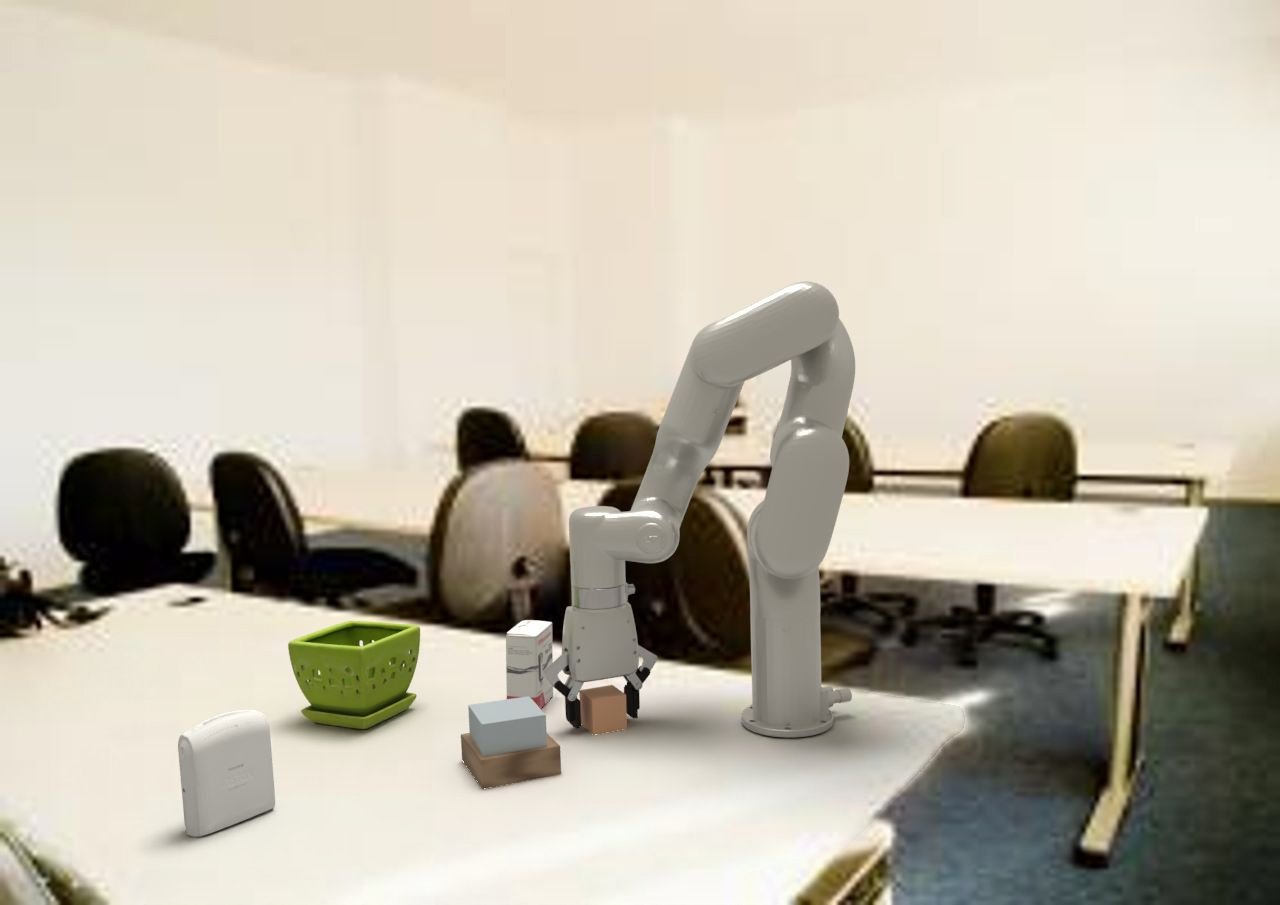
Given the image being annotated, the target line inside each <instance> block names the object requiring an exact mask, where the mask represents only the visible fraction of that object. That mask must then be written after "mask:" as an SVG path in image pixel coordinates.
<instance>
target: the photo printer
mask: <svg viewBox="0 0 1280 905" xmlns="http://www.w3.org/2000/svg"><path fill="white" fill-rule="evenodd" d="M177 751H178V753H177V754H178V763H179V773H180V775H179V776H180V786H181V796H182V807H183V808H182V810H183V820H184V827H185V832H186V834H187V835H188V836H190V837H192V838H193V837H194V838H201V837H202V836H207V835H210V834H212V833H215V832H218V831H220V830H223V829H225V828H229V827H230V826H233V825H236V824H239V823H240V822H243V821H246V820H248V819H251V818H253V817H256V816H258V815H260V814H263V813H266V812H268V811H270V810H272V809H274V808H275V807H276V794H275V780H274V779H275V778H274V768H273V765H274V764H273V753H272V741H271V730H270V725H269V721H268V718H267V717H266V715H265V714H264V712H262V711H261V712H260V711H259V710H255V709H239V710H233V711H228V712H223V713H220V714H217V715H215V716H212V717H209V718H207V719H205V720H202V721H200V722H199V723H196V724H195V725H193V726H192V727H190V728H188V729H187V730H186V731H185V732H183V733H182V734H181V735H179V738H178V741H177Z"/></svg>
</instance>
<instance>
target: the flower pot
mask: <svg viewBox="0 0 1280 905" xmlns="http://www.w3.org/2000/svg"><path fill="white" fill-rule="evenodd" d="M360 642H362V645H361V643H360ZM420 644H421V628H420V626H419V625H416V624H405V623H395V622H383V621H382V622H379V621H367V620H366V621H362V620H347V621H343V622H341V623H338V624H335V625H332V626H329V627H325V628H323V629H320V630H317V631H314V632H311V633H308V634H306V635H302V636H299V637H297V638H295V639H292V640H290V641H289V642H288V645H287V648H288V655H289V661H290V664H291V668H292V671H293V674H294V677H295V680H296V681H297V684H298V686H299V689H300V691H301V692H302V694H303V696H304V697H305V699H306V700H307V701H308V703H309V704H310V705H307V707H306V706H305V707H304V708H303V709H301V710H300V711H301V714H302V716H304V717H305V718H306V719H308V720H309V721H311V722H314V723H315V724H323V725H330V726H337V727H345V728H349V729H350V728H351V729H359V730H366V729H369V728H371V727H373V726H376V725H377V724H380V723H381V722H384V721H385V720H388V719H390V718H391V717H392V718H393V717H394V716H396V715H399V714H400V713H402V712H404V711H405V710H407V709H409V708H410V706H411V705H413V703H414V702H415V700H416V699H417V694H416V693H413V692H408V689H409V688H410V686H411V683H412V680H413V678H414V675H415V671H416V668H417V665H418V659H419V654H420V646H421V645H420ZM319 673H320V674H319Z"/></svg>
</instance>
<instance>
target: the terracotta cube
mask: <svg viewBox="0 0 1280 905" xmlns="http://www.w3.org/2000/svg"><path fill="white" fill-rule="evenodd" d="M578 695H579V700H580V706H581V724H582V725H583V726H584V727H585V728H587V729H588V730H589V731H590V732H591V733H592V734H593V735H592V734H591V733H590V732H589V731H588V730H587V729H586V730H587V731H588V732H589V733H590V734H591V735H592V736H596V735H595V734H599V735H603V734H602V733H604V734H607V733H606V732H610V733H613V732H612V731H615V732H618V731H617V730H621V731H623V730H622V729H626V728H627V729H628V714H627V709H626V694H625V693H624V691H622V690H621V689H619V688H618V687H616V686H615V685H613V684H608V685H604V686H603V685H602V686H597V687H596V686H595V687H591V688H585V689H580V691H579V693H578ZM582 725H581V726H582ZM583 726H582V727H583ZM584 727H583V728H584ZM585 728H584V729H585ZM627 729H626V730H627Z"/></svg>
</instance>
